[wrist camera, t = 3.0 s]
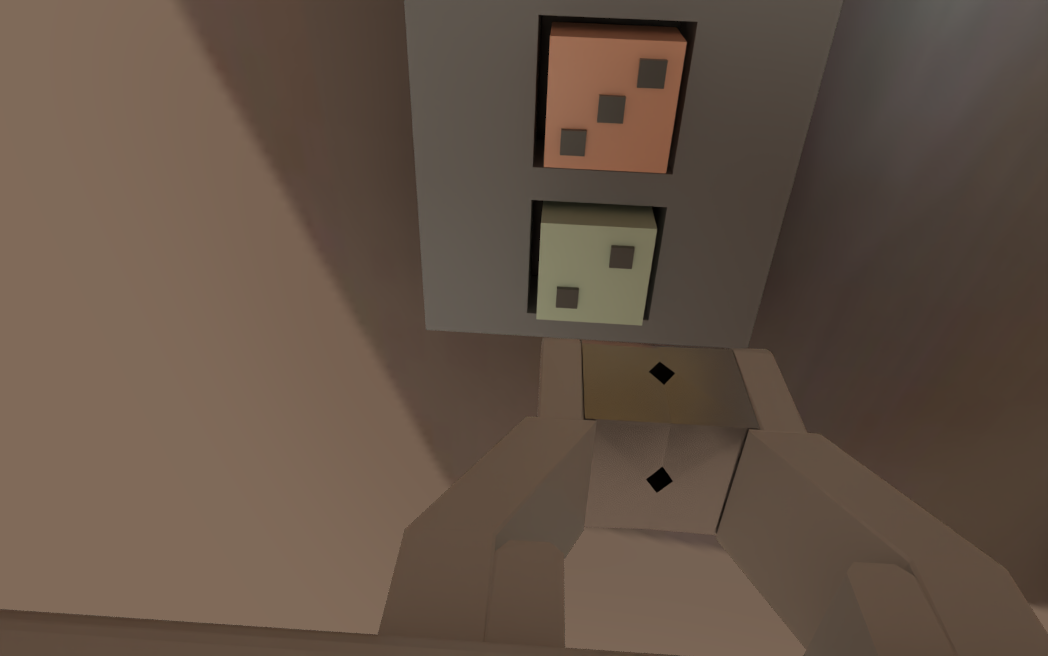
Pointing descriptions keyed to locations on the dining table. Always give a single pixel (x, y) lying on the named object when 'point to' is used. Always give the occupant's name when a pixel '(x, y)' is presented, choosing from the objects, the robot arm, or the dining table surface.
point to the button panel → (677, 196)
